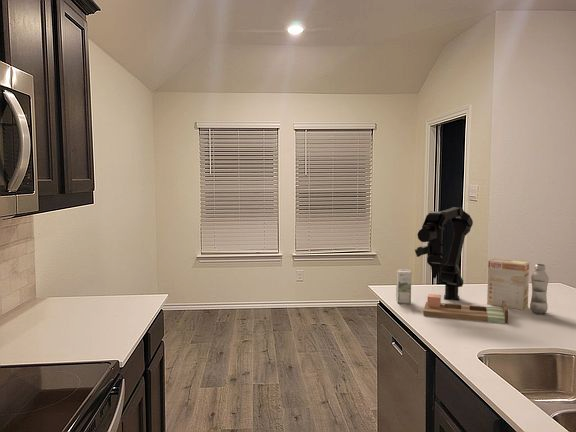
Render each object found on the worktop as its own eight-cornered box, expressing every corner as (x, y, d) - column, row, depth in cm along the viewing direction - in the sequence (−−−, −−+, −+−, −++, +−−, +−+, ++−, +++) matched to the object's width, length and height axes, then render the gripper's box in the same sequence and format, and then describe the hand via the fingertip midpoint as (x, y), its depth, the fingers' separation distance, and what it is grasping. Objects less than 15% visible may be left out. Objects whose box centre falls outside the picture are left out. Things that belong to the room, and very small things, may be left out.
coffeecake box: (528, 307, 201) (530, 262, 200) (523, 310, 196) (524, 264, 195) (492, 300, 212) (493, 258, 210) (486, 304, 206) (487, 260, 205)
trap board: (426, 306, 204) (426, 294, 203) (504, 313, 193) (504, 301, 193) (423, 315, 190) (423, 303, 190) (507, 323, 179) (508, 310, 179)
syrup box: (408, 300, 213) (409, 269, 212) (411, 304, 207) (411, 271, 206) (396, 300, 214) (396, 268, 212) (397, 303, 208) (398, 271, 207)
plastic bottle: (546, 311, 194) (548, 263, 193) (548, 316, 188) (550, 266, 187) (529, 309, 197) (531, 262, 195) (530, 314, 191) (531, 265, 189)
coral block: (428, 302, 202) (428, 293, 201) (440, 303, 200) (440, 294, 200) (427, 306, 197) (427, 296, 197) (439, 307, 195) (440, 297, 195)
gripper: (417, 237, 214) (416, 271, 215) (415, 242, 197) (414, 278, 198) (442, 238, 211) (441, 272, 212) (443, 243, 193) (441, 280, 194)
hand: (434, 276), depth 204 cm, fingers open, 9 cm apart
